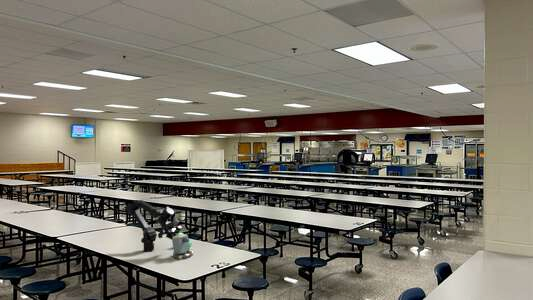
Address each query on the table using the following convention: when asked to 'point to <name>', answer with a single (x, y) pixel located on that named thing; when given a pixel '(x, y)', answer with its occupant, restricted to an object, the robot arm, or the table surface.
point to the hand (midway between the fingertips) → (176, 241)
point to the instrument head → (180, 243)
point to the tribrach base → (183, 255)
